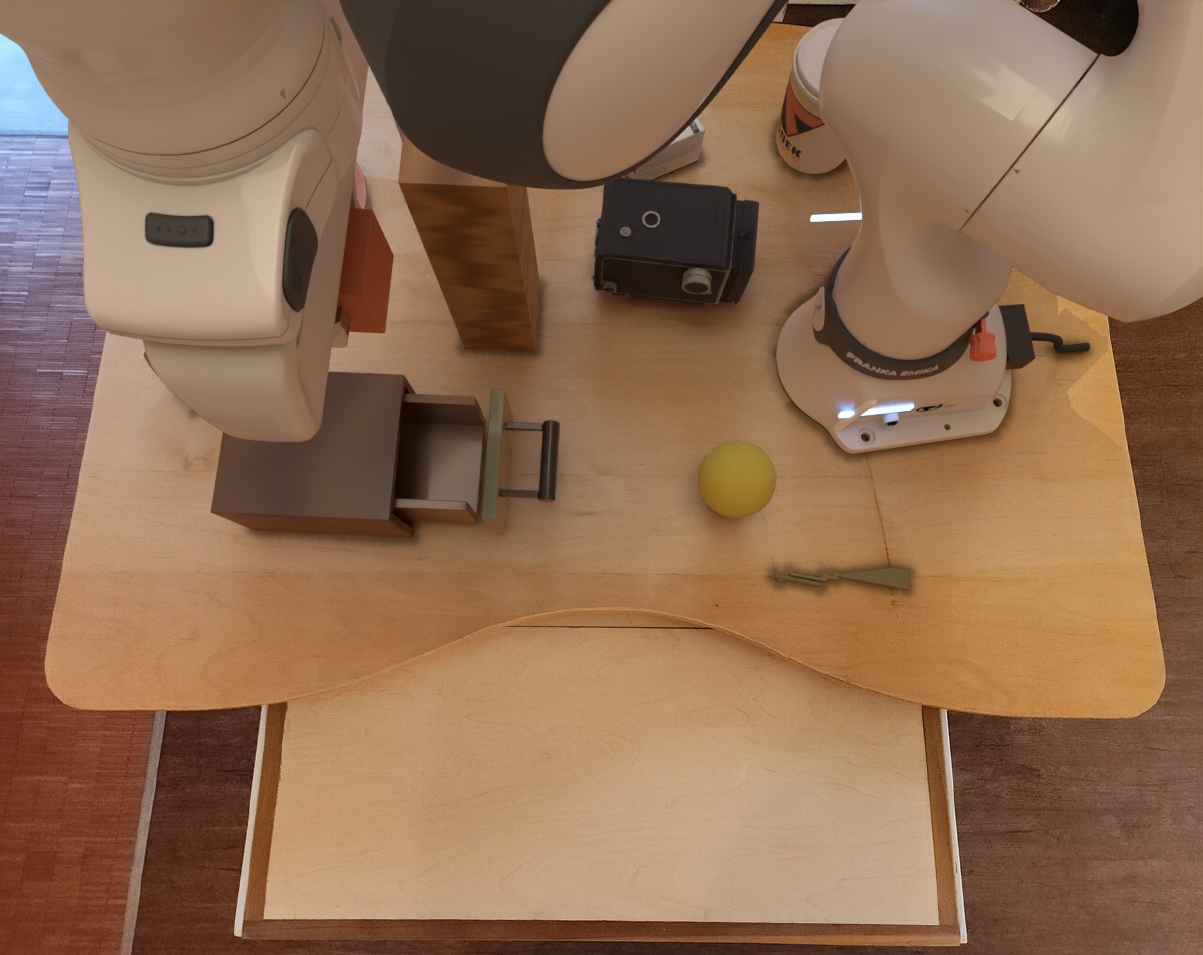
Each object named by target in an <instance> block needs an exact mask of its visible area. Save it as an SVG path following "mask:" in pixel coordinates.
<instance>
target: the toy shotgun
mask: <svg viewBox="0 0 1203 955" xmlns="http://www.w3.org/2000/svg"><path fill="white" fill-rule="evenodd" d="M910 573H911V570H910V569H905V568H900V567H896V566H895V567H894V566H889V567H883V568H875V569H866V570H865V569H864V570H859V571H849V572H840V573H839V572H835V573H833V574H827V573H822V574H820V575H819V576H817V575H811V574H805V573H800V572H796V571H792V572H790V573H788V574H785V573H780V572H775V573H774V576H773V577H774V579H776V580H777V581H778V582H783V581H787V582H792V583H798V584H803V585H807V586H812V587H818V588H820V587H822V586H823V582H826V581H836V580H838V579H839V578H840V579H845V580H850V581H855V582H860V583H866V584H870V585H877V586H881V587H886V588H892V589H897V590H902V591H908V589H909V585H910V584H909V583H910Z"/></svg>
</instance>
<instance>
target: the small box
mask: <svg viewBox="0 0 1203 955" xmlns="http://www.w3.org/2000/svg"><path fill="white" fill-rule="evenodd" d="M705 133H706V130H705V128H704V125H703V123H702V122H701V119H700V118H699V116H698V117H697V118H696V119H695V120H694V121H693V122H692V123H691V124H690V125H689V126H688V127H687V128H686V129H685V130H684V131H683V132H682V133H681V134H680V135H679V136H678V137H677V138H676V139H675V140H674V141H673V142H672V143H671V144H669V145H668V146H667V147H666V148H665V149H664V150H662V151H661V152H660V153H659V154H657V155H656V156H655V157H653V158H652V159H651V160H649V161H648V162H647V163H645V164H644V165H642V166H641V167H639V168H637V169H636V170H634V171H632V172H631V173H629V174H627V175H626V176H628V177H627V178H633V179H643V180H652V181H653V180H655V179H657V178H659V177H661V176H664V175H666V174H669V173H672V172H674V171H676V170H678V169H681V168H683V167H685V166H688V165H690V164H692V163H695V162H697V161H699V160H700V158H701V157H700V156H701V153H702V148H703V143H704V139H705Z"/></svg>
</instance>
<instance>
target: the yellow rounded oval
mask: <svg viewBox="0 0 1203 955" xmlns="http://www.w3.org/2000/svg"><path fill="white" fill-rule="evenodd" d="M697 472H698V473H697V480H696V482H697V486H698V491H699V494H700V496H701V498H702V500H703V502H704V503H705V504H706V505H707V506H708V507H709V508H710V509H711V510H712V511H713V512H714V513H717V514H719V515H721V516H723V517H726V518H730V519H731V518H732V519H742V518H748V517H751V516H753V515H755V514H758V513H759V512H762V510H763V509H764V508H765V507H766V506H767V505H768V504H769V503H770V501H771V500H772V498H773V495H774V494H775V491H776V486H777V473H776V468H775V465H774V462H773V461H772V460H771V457H770V456H769V454H767V452H766V451H764V450H763V449H762V448H761V447H760V446H757V445H756V444H754V443H752V442H749V441H746V440H745V441H744V440H737V439H736V440H729V441H724V442H722V443H720V444H718V445H716V446H713V447H712V448H711V450H710V451H708V453H707V454H706V455H705V456H704V457H703V459H702V461H701V463H700V465H699V467H698V471H697Z"/></svg>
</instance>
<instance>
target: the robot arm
mask: <svg viewBox="0 0 1203 955" xmlns="http://www.w3.org/2000/svg"><path fill="white" fill-rule="evenodd" d="M788 2H789V0H0V35H2V36H3V37H5V38H7V39H8V40H10V41H11V42H13V43H14V44H16V45H17V46H19V47H20V49H21V50H22V51H23V52H24V54H25V56H26V58H27V59H28V62H29V64H30V67H31V69H32V72H33V73H34V75H35V77H36V79H37V81H38V82H39V84H40V85H41V87H42V89H43V91H44V92H45V93H46V96H48V98H49V99H50V101H51V102H52V103H53V104H54V105H55V106H56V107H57V109H58V110H59V111H60V112H61V114H62V115H63V116H64V117H65V118H67V119H68V120H67V137H68V144H69V150H70V154H71V158H72V163H73V168H74V173H75V175H76V176H75V178H76V183H77V184H76V185H77V189H78V190H77V191H78V197H79V205H80V206H79V208H80V215H81V217H80V218H81V230H82V231H81V232H82V257H83V258H82V261H83V263H82V264H83V265H82V266H83V269H82V270H83V297H84V305H85V308H86V311H87V314H88V315H89V317H90V319H91V320H92V321H93V323H95V324H96V325H97V327H99V328H100V329H102V330H103V331H105V332H107V333H109V334H110V335H114V336H118V337H119V336H120V337H125V338H130V339H136V340H141V341H142V343H143V347H144V352H145V351H146V354H147V357H148V359H149V362H150V364H151V366H152V367H153V369H154V371H155V372H156V374H157V375H158V376H157V375H156V374H155V375H156V376H157V377H158V378H159V380H160V381H161V382H162V383H163V384H164V385H165V387H166V388H167V389H169V391H171V393H172V394H173V395H174V396H176V397H177V398H178V399H179V401H181V402H182V403H183V404H184V405H185V406H187V407H188V408H189V409H191V410H192V411H193V412H194V413H195V414H197V415H198V416H200V417H201V418H202V419H203V420H204V421H206V422H207V423H209V424H210V425H211V426H213V427H214V428H216V429H218V430H219V431H220V432H222V433H223V432H224V433H226V434H228V435H230V436H233V437H236V438H241V439H247V440H257V441H270V442H302V441H307V440H309V439H311V438H312V437H313V436H314V435H315V434H316V433H317V431H318V430H319V428H320V426H321V423H322V418H323V409H324V400H325V392H326V385H327V377H328V371H330V370H329V369H330V361H331V356H332V355H331V354H332V348H334V349H335V348H337V349H338V348H339V349H342V348H346V347H348V344H349V343H348V342H349V337H350V332H349V328H350V318H349V316H347V313H346V312H345V310H344V309H343V307H337V302H338V294H339V287H340V279H341V272H342V264H343V257H344V249H345V241H346V234H347V226H348V219H349V211H350V208H359V209H362V208H361V206H360V204H359V202H358V200H357V191H356V182H355V166H356V162H357V157H358V151H359V150H358V149H359V145H360V142H361V138H362V133H363V121H364V120H363V113H364V112H363V111H364V106H365V105H364V104H365V97H366V90H367V82H368V76H369V70H370V71H371V73H372V75H373V77H374V79H375V81H376V83H377V85H378V87H379V89H380V92H381V93H382V95H383V97H384V99H385V101H386V103H387V106H388V107H389V109H390V111H391V115H392V114H393V115H392V117H393V116H394V118H395V120H396V122H397V124H398V126H399V127H400V129H401V130H402V132H403V133H404V134H405V136H406V137H407V138H408V139H409V140H410V141H411V143H412V144H413V145H414V146H415V147H417V148H418V149H419V150H420V151H421V152H423V153H424V154H425V155H427V156H428V157H430V158H432V159H434V160H435V161H437V162H439V163H442V164H444V165H446V166H449V167H451V168H454V169H456V170H459V171H462V172H465V173H468V174H471V175H474V176H477V177H481V178H484V179H488V180H492V181H496V182H500V183H505V184H509V185H515V186H522V187H527V188H530V189H539V190H541V189H542V190H554V191H557V190H558V191H559V190H560V191H563V190H564V191H566V190H570V191H571V190H586V189H587V190H588V189H593V188H597V187H601V186H604V184H607V183H610V182H612V181H615V180H617V179H619V178H621V177H622V178H624V177H625V176H628V175H627V174H629V173H631V172H632V171H634V170H636V169H637V168H639V167H641V166H642V165H644V164H645V163H647V162H648V161H649V160H651V159H652V158H653V157H655V156H656V155H657V154H659V153H660V152H661V151H662V150H664V149H665V148H666V147H667V146H668V145H669V144H671V143H672V142H673V141H674V140H675V139H676V138H677V137H678V136H679V135H680V134H681V133H682V132H683V131H684V130H685V129H686V128H687V127H688V126H689V125H690V124H691V123H692V122H693V121H694V120H695V119H696V118H697V117H698V118H699V116H700V115H701V114H702V113H703V112H704V111H705V109H706V108H707V107H708V106H709V105H710V104H711V103H712V101H713V100H714V99H715V98H716V96H718V94H719V93H720V91H722V89H723V88H724V87H725V85H727V83H728V82H729V81H730V79H731V78H732V76H734V74H735V73H736V71H737V70H738V69H739V67H740V66H741V64H743V63H744V61H745V60H746V58H747V57H748V55H749V54H750V53H751V51H752V50H753V49H754V48H755V46H756V45H757V44H758V42H759V41H760V40H761V38H762V37H763V35H764V34H765V33H766V31H767V29H769V27H770V26H771V25H772V23H773V22H774V20H775V19H776V18H777V16H778V15H779V14H780V12H781V11H782V10H783V8H784V7H785V5H786V4H787V3H788ZM1136 2H1137V7H1138V23H1137V28H1136V31H1135V33H1134V36H1133V38H1132V40H1131V42H1130V44H1129V45H1128V46H1127V47H1126V48H1125V50H1124V51H1123V52H1121V53H1120V54H1118V55H1114V56H1110V55H1109V56H1108V55H1105V54H1103V53H1101V54H1099V56H1098V53H1096V52H1095V51H1093V50H1092V49H1090V48H1088V47H1087V46H1085V45H1084V44H1082V43H1081V42H1079V41H1078V40H1076V39H1074V38H1072V37H1071V36H1069V35H1068V34H1066V32H1063V31H1061V29H1058V28H1057V27H1055V26H1054V25H1053V24H1051V23H1049V22H1047V21H1045V20H1044V19H1042V18H1041V17H1039V16H1038V15H1036V14H1035V13H1033V12H1031V11H1030V10H1029V9H1027V8H1025V7H1024V6H1022V5H1020V4H1019V3H1017V2H1016V1H1014V0H859V1H858V2H857V3H856V4H855V5H854V6H853V8H852V9H851V10H850V11H849V12H848V14H847V15H846V16H845V17H844V18H845V19H844V20H843V22H842V23H841V25H840V26H839V28H838V29H837V31H836V33H835V35H834V37H833V39H832V41H831V43H830V45H829V48H828V50H827V53H826V56H825V59H824V63H823V66H822V71H821V77H820V85H819V104H820V113H821V118H822V121H823V122H824V124H825V125H826V126H827V128H828V129H829V131H830V132H831V134H832V136H833V137H834V139H835V140H836V142H837V144H838V145H839V147H840V149H841V151H842V152H843V154H844V156H845V160H846V163H847V165H848V167H849V169H850V172H851V175H852V178H853V181H854V185H855V188H856V193H857V196H858V201H859V206H860V212H855V213H854V212H853V213H852V212H851V213H831V214H812V215H811V216H810V219H809V220H810V222H831V221H833V222H834V221H835V222H836V221H853V220H854V221H855V220H861V223H860V224H861V225H860V227H859V229H858V232H857V235H856V236H855V238H854V241H853V243H852V244H851V245H850V246H849V247H847V248H846V250H845V251H844V252H843V253H842V254H841V255H840V256H839V258H838V259H837V261H836V262H835V264H833V267H832V268H831V269H830V271H829V272H828V274H827V276H826V278H825V279H824V280H823V282H822V285H821V287H820V288H819V290H818V292H817V293H816V294H814V296H812V297H811V298H810V299H808V300H806V301H805V302H804V303H802V304H801V305H800V306H798V308H796V309H795V310H794V311H793V312H792V313H791V314H790V316H789V317H788V318H787V320H786V321H785V323H784V325H783V326H782V328H781V330H780V332H779V335H778V340H777V342H776V343H777V344H776V350H775V352H776V353H775V360H776V368H777V373H778V376H779V380H780V381H781V384H782V386H783V388H784V390H785V392H786V394H787V395H788V397H789V398H790V399H791V400H792V402H793V403H794V404H795V405H796V406H797V407H798V409H800V410H801V411H802V412H803V413H804V414H806V416H808V417H810V418H811V419H813V420H814V421H815V422H817V423H818V424H820V425H821V426H823V428H825V429H826V430H827V432H828V433H829V435H830V436H831V438H832V439H833V440H834V442H835V444H836V445H837V446H838V447H839V448H840V449H841V450H842V451H844V452H845V453H847V454H851V455H854V454H855V455H856V454H863V453H869V452H876V451H884V450H889V449H896V448H903V447H911V446H917V445H924V444H931V443H938V442H944V441H951V440H958V439H965V438H972V437H978V436H986V435H988V434H992V433H993V432H995V430H997V428H998V427H999V426H1000V425H1001V423H1002V421H1003V419H1004V418H1005V415H1006V413H1007V410H1008V408H1009V403H1010V398H1011V393H1012V370H1021V369H1023V368H1024V367H1026V366H1028V365H1029V364H1030V363H1032V362H1033V361H1034V360H1036V357H1037V356H1036V353H1035V349H1034V348H1035V347H1034V344H1033V342H1047V343H1052V347H1053V350H1054V351H1055V352H1058V353H1063V354H1071V353H1081V352H1089V351H1090V349H1091V344H1090V342H1082V343H1081V342H1080V343H1079V342H1078V343H1072V344H1064V339H1063V337H1062V336H1061V335H1058V334H1054V333H1049V332H1040V331H1039V332H1038V331H1037V332H1036V331H1031V330H1030V325H1029V321H1028V316H1027V312H1026V311H1027V310H1026V307H1025V303H1016V304H1002V305H998V302H999V300H1000V299H1001V298H1002V296H1003V295H1004V293H1005V291H1006V289H1007V287H1008V284H1009V282H1010V278H1011V276H1012V270H1013V268H1014V269H1015V270H1017V271H1018V272H1019V273H1021V274H1023V275H1024V276H1025V277H1027V278H1028V279H1030V280H1031V281H1033V282H1034V283H1035V284H1037V285H1039V286H1040V287H1042V288H1043V289H1044V290H1046V291H1047V292H1049V293H1052V294H1053V295H1056V296H1058V297H1060V298H1063V299H1065V300H1067V301H1070V302H1072V303H1074V304H1077V305H1079V306H1080V307H1083V308H1086V309H1088V310H1091V311H1094V312H1096V313H1099V314H1101V315H1104V316H1106V317H1109V318H1111V319H1114V320H1117V321H1119V322H1121V323H1134V322H1135V323H1136V322H1142V321H1147V320H1153V319H1156V318H1159V317H1163V316H1165V315H1169V314H1172V313H1173V312H1177V311H1178V310H1179V311H1180V310H1181V309H1183V308H1185V307H1187V306H1190V305H1191V304H1193V303H1195V302H1197V301H1198V300H1200V299H1201V298H1203V0H1136ZM394 118H393V119H394ZM154 371H153V372H154ZM155 372H154V373H155ZM994 402H996V403H997V404H998V406H996V405H995V404H994ZM862 436H865V437H866V438H867V441H865V440H863V439H862Z"/></svg>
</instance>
